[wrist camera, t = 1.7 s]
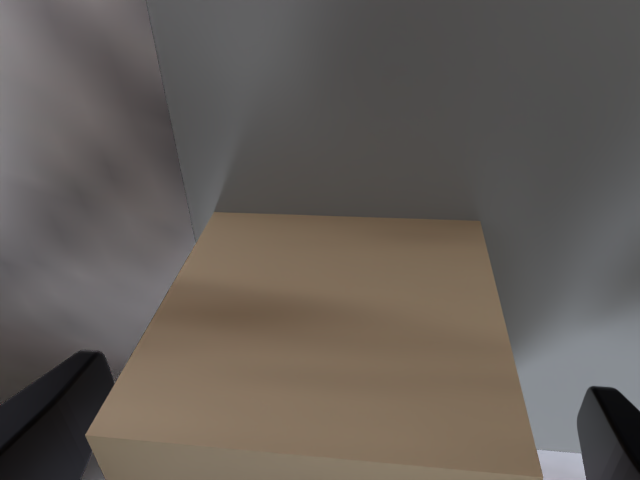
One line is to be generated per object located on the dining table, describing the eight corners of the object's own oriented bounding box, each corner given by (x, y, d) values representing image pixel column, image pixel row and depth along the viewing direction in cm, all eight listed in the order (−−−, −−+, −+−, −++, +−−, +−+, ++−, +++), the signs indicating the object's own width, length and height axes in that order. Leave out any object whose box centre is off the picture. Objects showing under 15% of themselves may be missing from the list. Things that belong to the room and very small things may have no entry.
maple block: (451, 402, 12) (478, 663, 8) (244, 386, 13) (171, 621, 9) (479, 220, 9) (542, 477, 5) (213, 212, 10) (84, 435, 6)
